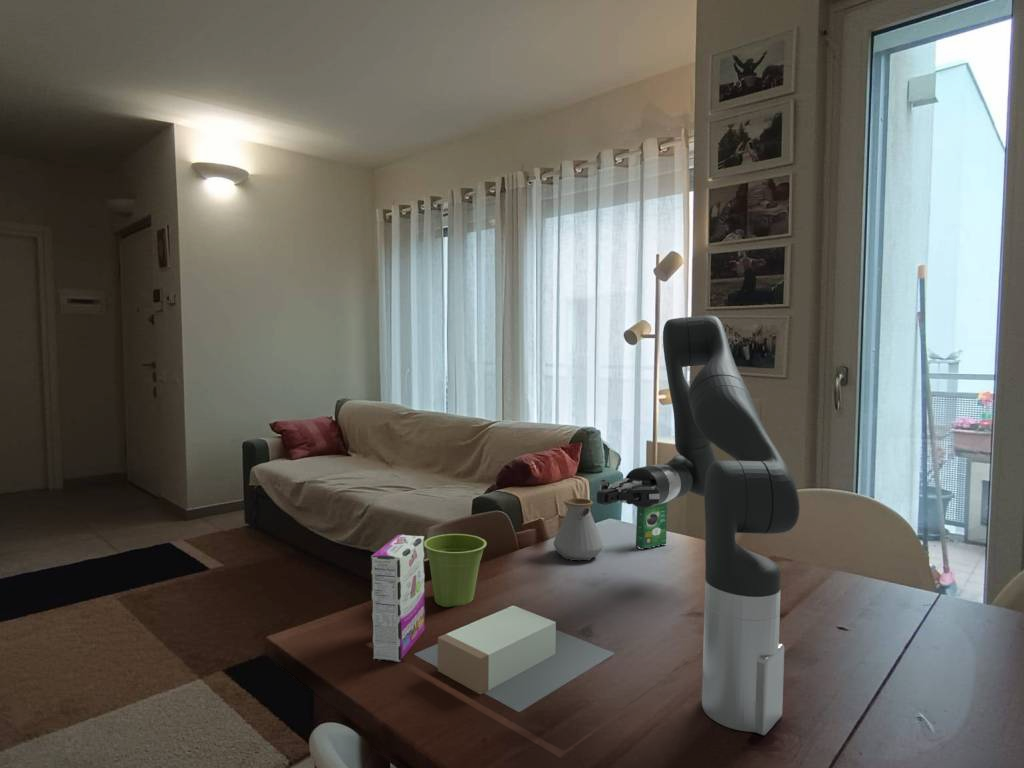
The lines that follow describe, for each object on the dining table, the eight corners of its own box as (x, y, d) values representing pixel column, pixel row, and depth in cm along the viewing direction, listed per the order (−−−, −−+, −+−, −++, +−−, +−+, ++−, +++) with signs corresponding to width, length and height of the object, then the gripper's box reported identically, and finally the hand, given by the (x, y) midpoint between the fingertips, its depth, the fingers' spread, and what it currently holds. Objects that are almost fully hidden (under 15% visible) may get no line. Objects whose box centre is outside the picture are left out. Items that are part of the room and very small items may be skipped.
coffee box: (658, 542, 155) (660, 490, 154) (667, 545, 153) (668, 492, 152) (634, 547, 151) (636, 494, 150) (643, 550, 148) (644, 496, 148)
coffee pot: (551, 548, 150) (552, 486, 149) (599, 548, 150) (600, 487, 149) (558, 580, 128) (559, 508, 128) (614, 580, 128) (615, 509, 128)
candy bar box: (397, 628, 105) (397, 533, 104) (425, 631, 104) (426, 535, 103) (369, 660, 94) (369, 554, 93) (400, 664, 93) (400, 556, 92)
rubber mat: (615, 657, 96) (615, 653, 96) (518, 716, 80) (518, 712, 80) (511, 614, 111) (511, 611, 111) (413, 658, 95) (413, 654, 95)
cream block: (555, 622, 95) (480, 658, 84) (555, 653, 96) (480, 694, 84) (513, 605, 102) (437, 637, 90) (512, 635, 102) (437, 670, 90)
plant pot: (471, 618, 110) (472, 555, 109) (411, 608, 113) (412, 548, 113) (495, 593, 121) (495, 536, 120) (439, 586, 125) (440, 530, 124)
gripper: (623, 461, 123) (570, 471, 110) (685, 469, 114) (634, 481, 101) (623, 499, 123) (569, 513, 111) (684, 510, 114) (633, 527, 102)
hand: (600, 498), depth 106 cm, fingers closed
